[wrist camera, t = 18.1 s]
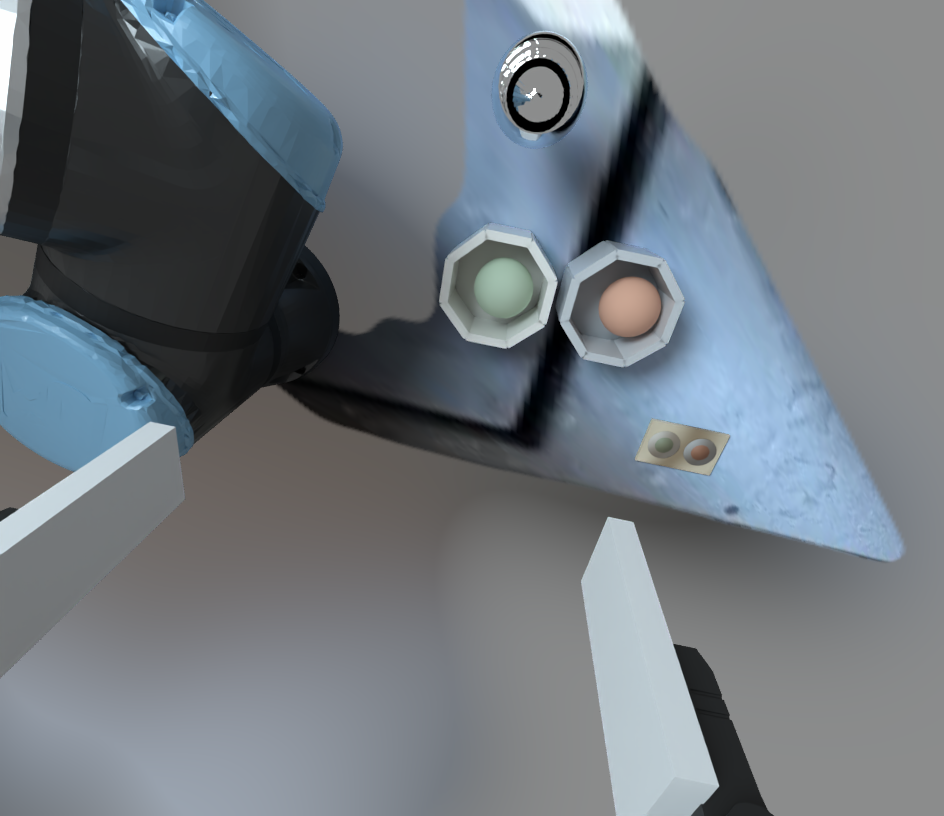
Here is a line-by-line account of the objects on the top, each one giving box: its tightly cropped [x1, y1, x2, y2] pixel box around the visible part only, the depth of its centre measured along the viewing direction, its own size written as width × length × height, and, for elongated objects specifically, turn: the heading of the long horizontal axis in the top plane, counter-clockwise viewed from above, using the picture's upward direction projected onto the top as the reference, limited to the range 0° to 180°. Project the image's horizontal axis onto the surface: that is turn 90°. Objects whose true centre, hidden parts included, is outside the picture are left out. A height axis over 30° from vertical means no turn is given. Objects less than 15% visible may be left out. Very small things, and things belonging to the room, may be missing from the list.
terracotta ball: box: [598, 276, 661, 337], centre depth 39 cm, size 5×5×5 cm
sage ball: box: [474, 257, 533, 318], centre depth 39 cm, size 5×5×5 cm
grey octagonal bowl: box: [555, 240, 685, 368], centre depth 39 cm, size 9×9×6 cm
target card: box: [635, 418, 730, 475], centre depth 48 cm, size 8×5×1 cm, turn 79°
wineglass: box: [491, 31, 588, 149], centre depth 30 cm, size 6×6×12 cm
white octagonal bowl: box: [439, 223, 558, 349], centre depth 39 cm, size 9×9×6 cm
